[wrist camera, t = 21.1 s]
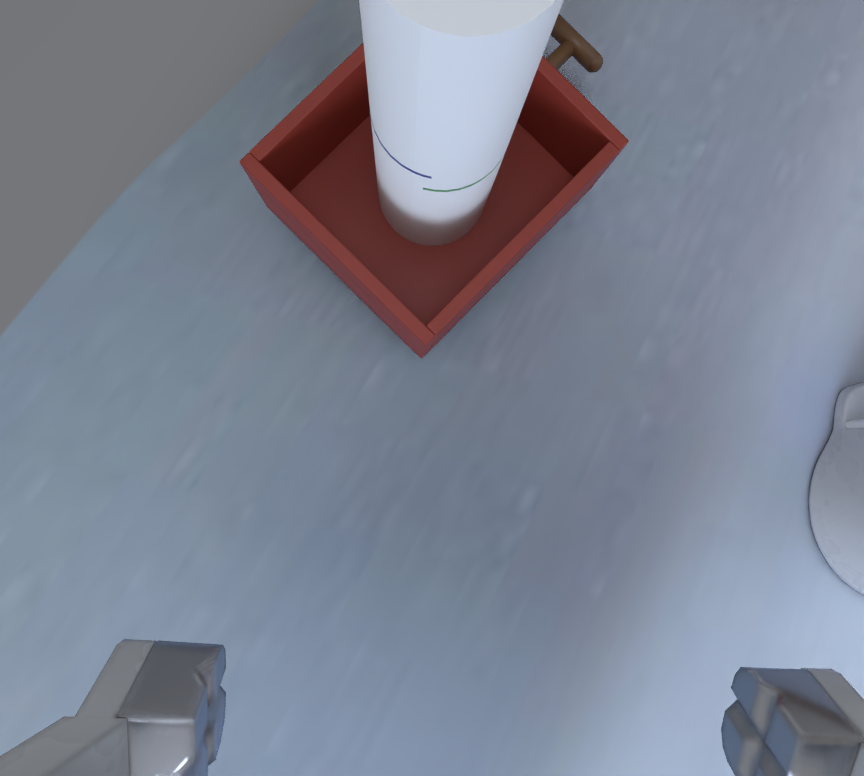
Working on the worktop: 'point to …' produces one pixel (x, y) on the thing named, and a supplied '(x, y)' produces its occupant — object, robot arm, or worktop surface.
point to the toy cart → (375, 238)
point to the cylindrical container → (447, 103)
